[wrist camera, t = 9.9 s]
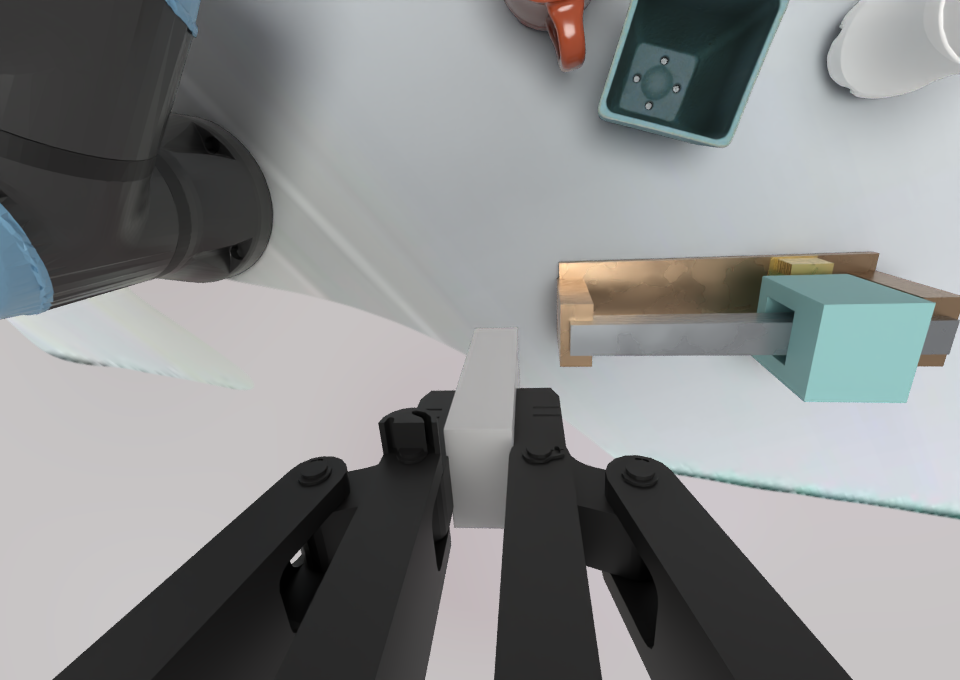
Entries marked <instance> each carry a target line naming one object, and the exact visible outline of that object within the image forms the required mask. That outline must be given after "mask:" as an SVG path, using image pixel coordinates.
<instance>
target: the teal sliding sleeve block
mask: <svg viewBox="0 0 960 680" xmlns="http://www.w3.org/2000/svg"><path fill="white" fill-rule="evenodd" d="M935 304H936V303H935V302H931V301H928V300H925V299H922V298H919V297H916V296H913V295H910V294H907V293H904V292H901V291H898V290H895V289H892V288H889V287H886V286H883V285H880V284H877V283H874V282H871V281H868V280H865V279H862V278H859V277H856V276H853V275H850V274H821V275H780V276H763V277H762V283H761V289H760V296H759V302H758V308H757V313H776V312H795V314H794V319H793V324H792V330H791V335H790V340H789V346H788V351H787V355H751V356H752V357H753V358H754V359H756V360H757V361H758V362H759V363H760V364H761V365H762V366H764V367H765V368H766V369H767V370H768V371H769V372H770V373H772V374H773V375H774V376H775V377H776V378H777V379H778V380H780V381H781V382H782V383H783V384H784V385H785V386H786V387H788V388H789V389H790V390H791V391H792V392H793V393H795V394H796V395H797V396H798V397H799V398H800V399H801V400H803V401H804V402H867V403H906V402H907V399H908V396H909V392H910V389H911V385H912V382H913V379H914V375H915V372H916V369H917V365H918V362H919V358H920V355H921V352H922V348H923V345H924V342H925V338H926V335H927V331H928V328H929V325H930V321H931V318H932V315H933V311H934V308H935Z"/></svg>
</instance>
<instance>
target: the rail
mask: <svg viewBox="0 0 960 680" xmlns="http://www.w3.org/2000/svg"><path fill="white" fill-rule="evenodd" d="M878 257H879V253H876V252H852V253H821V254H790V255H759V256H728V257H697V258H666V259H634V260H603V261H572V262H559V278H557V337H558V348H559V359H560V367H592V356H672V355H787V351H788V346H789V340H790V335H791V330H792V324H793V319H794V314H795V312H776V313H757V308H758V302H759V296H760V289H761V283H762V277H763V276H780V275H821V274H850V275H853V276H856V277H859V278H862V279H865V280H868V281H871V282H874V283H877V284H880V285H883V286H886V287H889V288H892V289H895V290H898V291H901V292H904V293H907V294H910V295H913V296H916V297H919V298H922V299H925V300H928V301H931V302H935V303H936V304H935V308H934V311H933V315H932V318H931V321H930V325H929V328H928V331H927V335H926V338H925V342H924V345H923V348H922V352H921V355H920V358H919V362H918V365H917V366H943V365H944V362H945V359H946V355H947V354H949V353H950V350H951V347H952V344H953V340H954V337H955V334H956V331H957V328H958V325H959V321H960V320H958V317H959V314H960V295H957V294H953V293H950V292H946V291H943V290H940V289H936V288H933V287H929V286H926V285H922V284H919V283H916V282H912V281H909V280H905V279H902V278H899V277H895V276H892V275H888V274H885V273H882V272H878V271H875V269H876V265H877V261H878Z"/></svg>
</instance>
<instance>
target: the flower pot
mask: <svg viewBox="0 0 960 680" xmlns="http://www.w3.org/2000/svg"><path fill="white" fill-rule="evenodd" d="M788 3H789V0H631V2H630V5H629V9H628V12H627V15H626V19H625V22H624V25H623V29H622V32H621V35H620V38H619V42H618V45H617V48H616V51H615V55H614V58H613V61H612V64H611V67H610V70H609V74H608V77H607V80H606V83H605V86H604V89H603V92H602V95H601V98H600V101H599V105H598V115H599V117H600V118H601V119H602V120H604V121H607V122H611V123H615V124H619V125H623V126H627V127H631V128H635V129H639V130H643V131H646V132H650V133H654V134H658V135H661V136H665V137H669V138H673V139H677V140H681V141H684V142H688V143H691V144H696V145H703V146H710V147H719V148H723V147H726V146H728V145H729V144H730V143H731V141H732V139H733V136H734V134H735V132H736V129H737V127H738V124H739V122H740V119H741V116H742V114H743V112H744V109H745V106H746V104H747V102H748V98H749V96H750V94H751V91H752V89H753V86H754V84H755V81H756V79H757V77H758V74H759V72H760V70H761V67H762V65H763V62H764V60H765V57H766V55H767V52H768V50H769V47H770V45H771V43H772V41H773V38H774V36H775V33H776V31H777V29H778V27H779V24H780V22H781V20H782V17H783V15H784V13H785V11H786V9H787V6H788ZM664 57H666V58H667V59H668V62H667V64H665V65H663V64H662V63H661V60H662V58H664ZM636 75H639V76H640V80H639V82H634V77H635V76H636ZM675 85H678V86H679V87H680V90H679V91H678V92H676V93H675V92H674V91H673V87H674V86H675ZM648 102H651V103H652V108H651V109H649V110H648V109H646V107H645V106H646V104H647V103H648Z"/></svg>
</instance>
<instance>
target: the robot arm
mask: <svg viewBox="0 0 960 680" xmlns="http://www.w3.org/2000/svg"><path fill="white" fill-rule="evenodd" d="M200 1H201V0H0V319H5V318H10V317H14V316H19V315H33V314H40V313H42V312H45V311H47V310H50V309H53V308H57V307H60V306H63V305H67V304H70V303H74V302H77V301H80V300H84V299H87V298H91V297H94V296H97V295H101V294H104V293H108V292H111V291H114V290H118V289H121V288H124V287H128V286H131V285H135V284H138V283H141V282H144V281H148V280H152V279H155V278H159V279H168V280H177V281H186V282H196V283H206V282H215V281H219V280H223V279H226V278H229V277H232V276H235V275H237V274H240V273H242V272H243V271H245V270H247V269H248V268H250V267H251V266H252V265H253V264H254V263H255V262H256V261H257V260H258V259H259V257H260V256H261V254H262V253H263V251H264V249H265V247H266V245H267V243H268V240H269V237H270V233H271V227H272V205H271V199H270V194H269V190H268V187H267V184H266V181H265V179H264V176H263V174H262V172H261V170H260V168H259V166H258V165H257V163H256V161H255V160H254V158H253V157H252V155H251V154H250V153H249V152H248V150H247V149H246V148H245V147H244V146H243V145H242V144H241V143H240V142H239V141H238V140H237V139H236V138H235V137H234V136H233V135H231V134H230V133H229V132H228V131H226V130H225V129H223V128H221V127H220V126H218V125H216V124H214V123H212V122H210V121H207V120H205V119H201V118H198V117H193V116H187V115H181V114H174V113H170V112H171V109H172V105H173V102H174V99H175V95H176V92H177V89H178V85H179V82H180V78H181V75H182V72H183V68H184V65H185V61H186V58H187V55H188V51H189V48H190V45H191V41H192V38H193V37H195V38H196V36H197V33H198V27H197V25H196V19H197V14H198V10H199V6H200ZM378 424H379V430H380V435H381V442H382V448H383V454H384V455H383V457H382V459H381V461H380V463H379V464H378V465H376V466H372V467H368V468H364V469H359V470H354V471H349V472H348V471H347V466H346V464H345V463H344V462H343V460H341V459H339V458H336V457H325V456H324V457H318V458H313V459H310V460H308V461H305V462H303V463H300V464H299V465H297V466H296V467H294V468H293V469H292V470H290V471H289V472H288V473H287V474H286V475H284V476H283V478H281V479H280V480H279V481H278V482H276V483H275V484H274V485H273V486H272V487H271V488H270V489H269V490H267V491H266V492H265V493H264V494H263V495H262V496H261V497H260V498H258V499H257V500H256V501H255V502H254V503H253V504H251V505H250V506H249V507H248V508H247V509H246V510H245V511H244V512H242V513H241V514H240V515H239V516H238V517H237V518H236V519H234V520H233V521H232V522H231V523H230V524H229V525H228V526H226V527H225V528H224V529H223V530H222V531H221V532H220V533H219V534H217V535H216V536H215V537H214V538H213V539H212V540H211V541H210V542H208V543H207V544H206V545H205V546H204V547H203V548H202V549H200V550H199V551H198V552H197V553H196V554H195V555H194V556H192V557H191V558H190V559H189V560H188V561H187V562H186V563H185V564H183V565H182V566H181V567H180V568H179V569H178V570H177V571H175V572H174V573H173V574H172V575H171V576H170V577H169V578H167V579H166V580H165V581H164V582H163V583H162V584H161V585H159V587H157V588H156V589H155V590H154V591H153V592H151V593H150V594H149V595H148V596H147V597H146V598H145V599H144V600H142V601H141V602H140V603H139V604H138V605H137V606H136V607H135V608H133V609H132V610H131V611H130V612H129V613H128V614H127V615H126V616H124V617H123V618H122V619H121V620H120V621H119V622H117V623H116V624H115V625H114V626H113V627H112V628H111V629H109V630H108V631H107V632H106V633H105V634H104V635H103V636H102V637H100V638H99V639H98V640H97V641H96V642H95V643H94V644H92V645H91V646H90V647H89V648H88V649H87V650H86V651H84V652H83V653H82V654H81V655H80V656H79V657H78V658H76V660H74V661H73V662H72V663H71V664H70V665H69V666H67V668H65V669H64V670H63V671H62V672H61V673H60V674H58V675H57V676H56V677H55V678H54V679H53V680H425V676H426V670H427V666H428V661H429V656H430V650H431V645H432V640H433V635H434V630H435V624H436V619H437V615H438V609H439V604H440V599H441V594H442V589H443V584H444V579H445V574H446V568H447V563H448V558H449V553H450V548H451V536H450V527H449V526H450V521H451V517H452V512H453V521H454V527H455V528H456V527H457V528H501V529H503V528H504V540H503V555H502V570H501V584H500V599H499V600H500V601H499V614H498V631H497V646H496V661H495V675H494V680H602V676H601V669H600V662H599V655H598V648H597V641H596V634H595V627H594V620H593V613H592V606H591V599H590V592H589V586H588V578H587V571H586V566H588V567H592V568H595V569H598V570H602V573H603V577H604V580H605V583H606V585H607V587H608V589H609V591H610V593H611V595H612V597H613V600H614V601H615V604H616V606H617V608H618V610H619V612H620V614H621V616H622V618H623V621H624V623H625V625H626V627H627V629H628V631H629V633H630V636H631V638H632V640H633V642H634V644H635V646H636V648H637V650H638V653H639V655H640V657H641V659H642V661H643V663H644V665H645V667H646V670H647V672H648V674H649V676H650V678H651V680H853V679H852V678H851V677H850V676H849V675H848V674H847V673H846V671H845V670H844V669H843V668H842V667H841V666H840V665H839V663H838V662H837V661H836V660H835V659H834V657H833V656H832V655H831V654H830V653H829V652H828V651H827V650H826V648H825V647H824V646H823V645H822V644H821V642H820V641H819V640H818V639H817V638H816V637H815V636H814V634H813V633H812V632H811V631H810V630H809V629H808V628H807V626H806V625H805V624H804V623H803V622H802V621H801V619H800V618H799V617H798V616H797V615H796V614H795V613H794V611H793V610H792V609H791V608H790V607H789V606H788V605H787V603H786V602H785V601H784V600H783V599H782V598H781V596H780V595H779V594H778V593H777V592H776V591H775V589H774V588H773V587H772V586H771V585H770V584H769V583H768V582H767V580H766V579H765V578H764V577H763V576H762V575H761V573H760V572H759V571H758V570H757V569H756V568H755V567H754V565H753V564H752V563H751V562H750V561H749V560H748V558H747V557H746V556H745V555H744V554H743V553H742V552H741V550H740V549H739V548H738V547H737V546H736V545H735V544H734V542H733V541H732V540H731V539H730V538H729V536H727V534H726V533H725V532H724V531H723V530H722V528H721V527H720V526H719V525H718V524H717V523H716V522H715V521H714V519H713V518H712V517H711V516H710V515H709V514H708V512H707V511H706V510H705V509H704V508H703V507H702V505H701V504H700V503H699V502H698V501H697V500H696V498H695V497H694V496H693V495H692V494H691V493H690V492H689V491H688V489H687V488H686V487H685V486H684V485H683V484H682V483H681V481H680V480H679V479H678V478H677V477H676V475H675V474H674V473H673V472H672V471H671V470H670V469H669V468H668V467H666V466H665V465H664V464H663V463H661V462H659V461H656V460H654V459H652V458H648V457H643V456H638V455H633V456H622V457H619V458H616V459H614V460H613V461H612V462H610V463H609V464H608V466H607V468H606V470H604V469H600V468H595V467H591V466H588V465H585V464H583V463H581V462H579V461H577V460H575V459H574V458H573V457H572V456H571V455H570V453H569V451H568V449H567V448H566V444H565V437H564V429H563V422H562V415H561V408H560V400H559V396H558V395H557V394H556V393H555V392H554V391H553V390H552V389H551V388H520V374H519V348H518V327H507V328H475V331H474V334H473V337H472V340H471V343H470V347H469V350H468V353H467V356H466V359H465V363H464V366H463V369H462V373H461V375H460V379H459V382H458V385H457V388H456V391H431V392H430V393H428V394H427V395H426V396H424V397H423V398H422V399H421V400H420V403H419V405H418V407H417V408H406V409H401V410H398V411H394V412H392V413H390V414H388V415H386V416H385V417H383V419H382V420H381V421H380V422H379V423H378ZM300 549H301V553H302V555H301V556H300V557H299V558H298V559H297V560H296V561H295V562H294V563H293V564H291V563H290V560H291V559H292V558H293V557H294V555H295V554H296V553H297V552H298V551H299V550H300Z"/></svg>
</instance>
